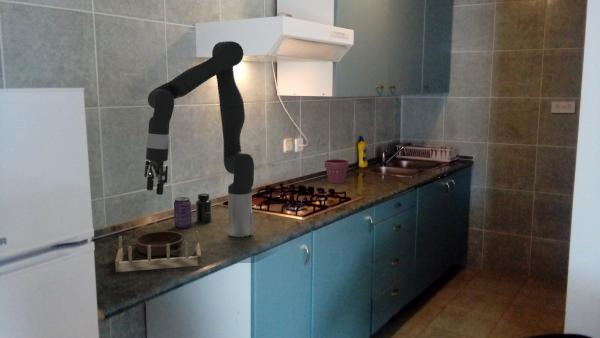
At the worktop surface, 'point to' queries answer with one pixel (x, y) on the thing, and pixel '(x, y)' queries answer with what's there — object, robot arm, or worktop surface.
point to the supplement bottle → (203, 209)
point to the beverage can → (182, 212)
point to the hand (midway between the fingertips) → (154, 192)
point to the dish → (160, 242)
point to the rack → (157, 263)
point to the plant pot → (336, 170)
